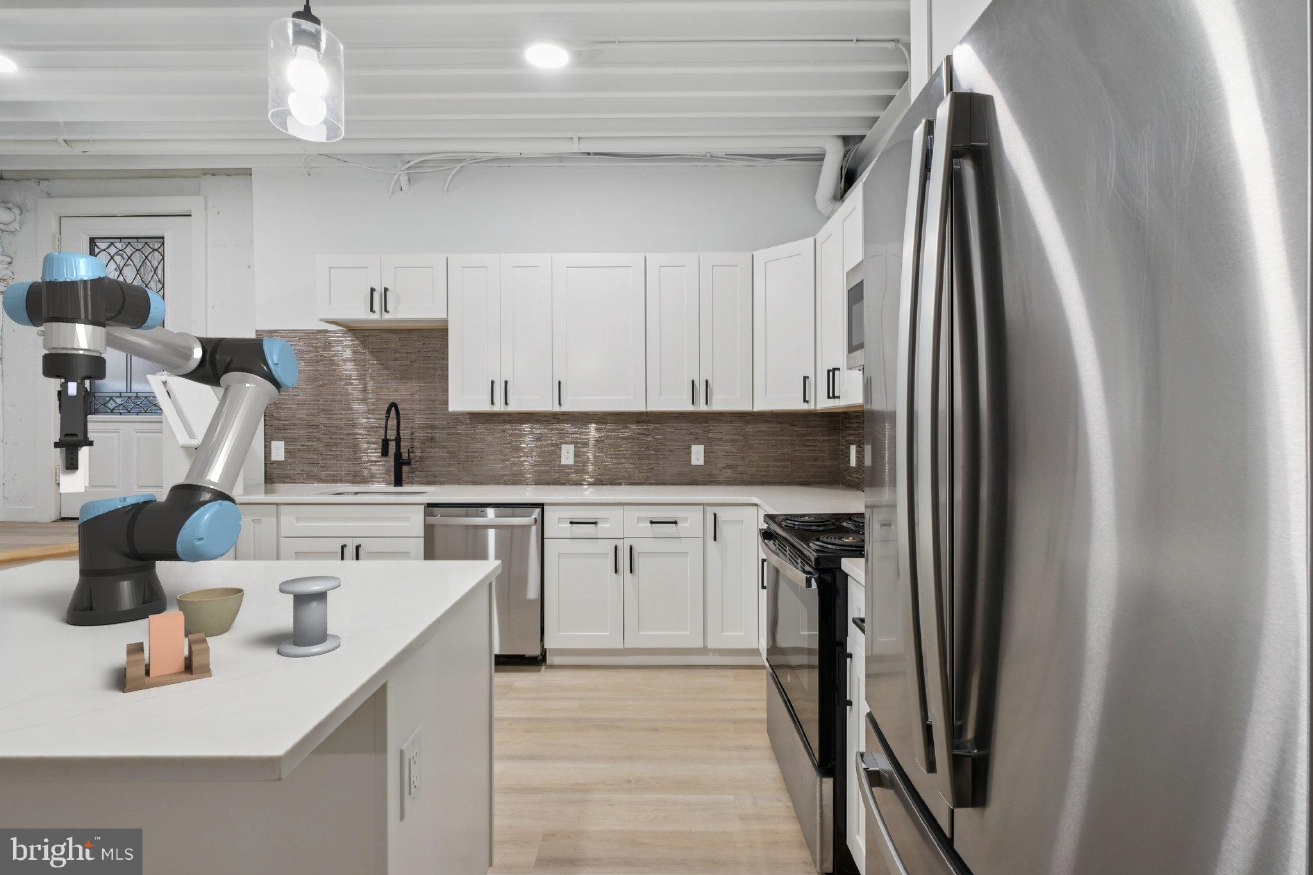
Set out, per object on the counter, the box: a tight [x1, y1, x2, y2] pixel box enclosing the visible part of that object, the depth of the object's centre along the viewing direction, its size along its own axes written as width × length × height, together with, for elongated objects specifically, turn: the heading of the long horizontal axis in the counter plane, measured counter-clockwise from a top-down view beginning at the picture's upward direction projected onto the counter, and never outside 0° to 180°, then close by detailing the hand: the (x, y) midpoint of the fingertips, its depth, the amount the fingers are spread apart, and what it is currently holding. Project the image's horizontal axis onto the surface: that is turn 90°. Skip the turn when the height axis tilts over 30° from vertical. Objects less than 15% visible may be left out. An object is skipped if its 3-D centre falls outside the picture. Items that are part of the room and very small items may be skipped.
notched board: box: [123, 632, 213, 694], centre depth 97 cm, size 10×10×4 cm
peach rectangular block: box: [148, 610, 185, 677], centre depth 97 cm, size 4×4×8 cm
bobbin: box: [278, 575, 341, 658], centre depth 109 cm, size 9×9×11 cm
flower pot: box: [176, 586, 245, 638], centre depth 117 cm, size 10×10×7 cm
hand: (75, 489), depth 103 cm, fingers open, 13 cm apart
